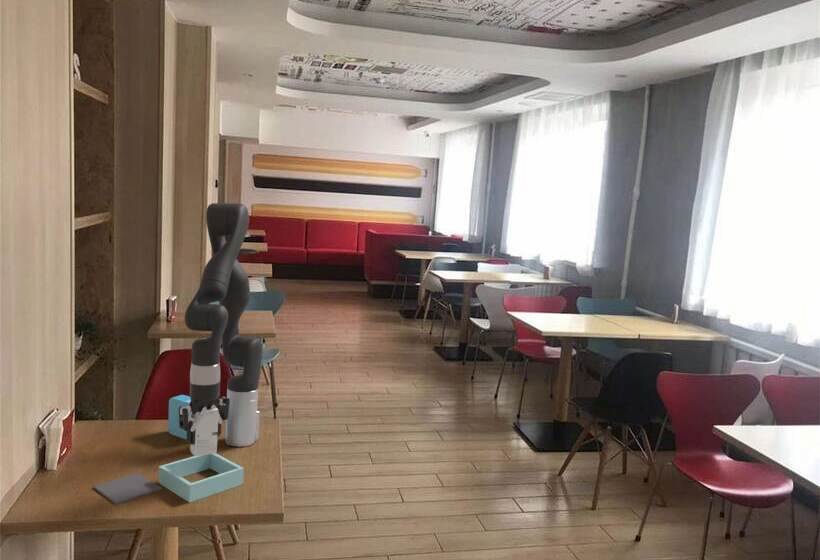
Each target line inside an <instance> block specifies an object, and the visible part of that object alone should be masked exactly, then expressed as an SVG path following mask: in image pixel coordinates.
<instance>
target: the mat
mask: <svg viewBox="0 0 820 560" xmlns="http://www.w3.org/2000/svg"><path fill="white" fill-rule="evenodd" d="M92 487H93V489H94V490H96V491H97V492H99V494H101V495H102V496H104V497H105V498H106V499H108V500H109V501H111V502H112V503H113V504H114V505H119V504H122V503H125V502H130V501H132V500H134V499H138V498H141V497H144V496H149V495H151V494H154V493H157V492H160V491H162V490H163V488H162V487H160V486H159V485H157V484H156V483H154V482H153V481H151V480H150V479H149V478H147V477H145V476H144V475H142V474H141V473H139V472H137V473H135V474H131V475H127V476H124V477H123V476H122V477H121V478H117V479H114V480H110V481H107V482H102V483H99V484H96V485H93V486H92Z"/></svg>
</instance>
